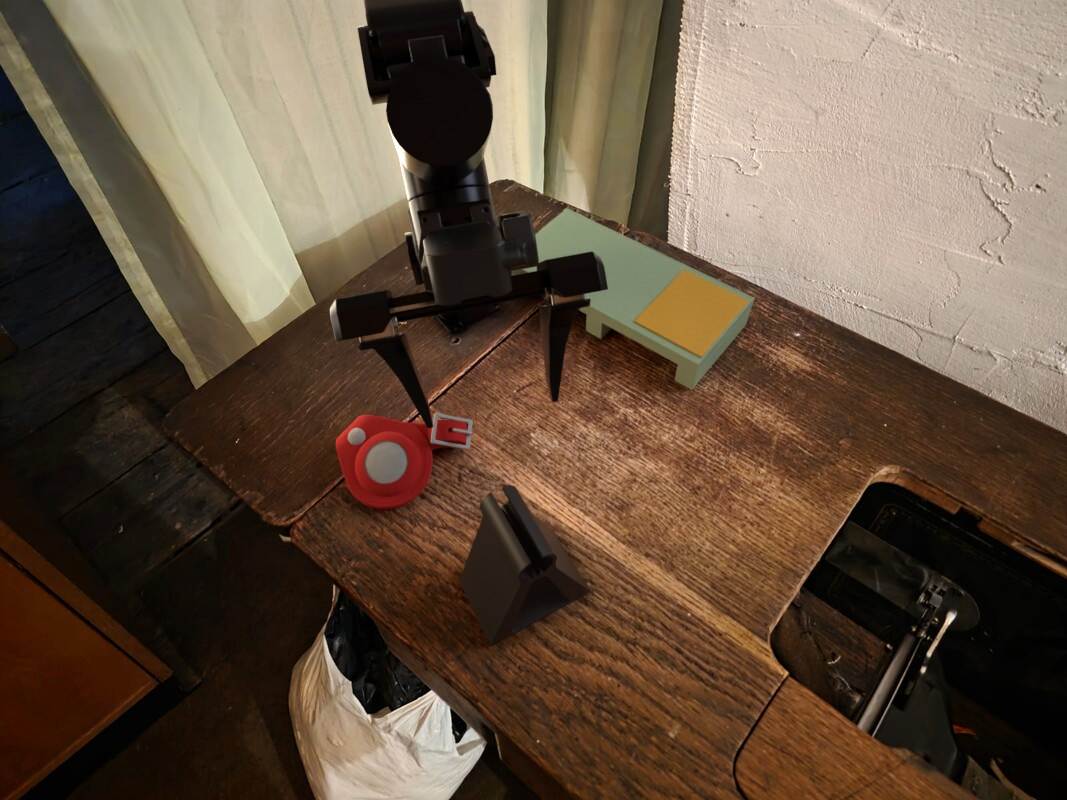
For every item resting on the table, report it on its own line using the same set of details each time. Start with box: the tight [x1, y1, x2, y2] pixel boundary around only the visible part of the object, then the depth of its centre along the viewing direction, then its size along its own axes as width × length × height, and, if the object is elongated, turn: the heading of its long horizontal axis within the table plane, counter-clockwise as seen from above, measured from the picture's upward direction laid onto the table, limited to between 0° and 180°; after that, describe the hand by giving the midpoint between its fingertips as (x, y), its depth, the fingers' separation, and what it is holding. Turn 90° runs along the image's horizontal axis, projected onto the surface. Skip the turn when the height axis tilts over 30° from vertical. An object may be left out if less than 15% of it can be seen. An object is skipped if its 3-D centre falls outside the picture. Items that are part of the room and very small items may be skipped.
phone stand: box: [458, 484, 591, 647], centre depth 50 cm, size 9×6×12 cm, turn 117°
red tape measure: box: [335, 412, 474, 511], centre depth 62 cm, size 12×4×10 cm
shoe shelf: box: [511, 207, 755, 391], centre depth 72 cm, size 24×11×4 cm, turn 51°
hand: (493, 414), depth 49 cm, fingers open, 9 cm apart
